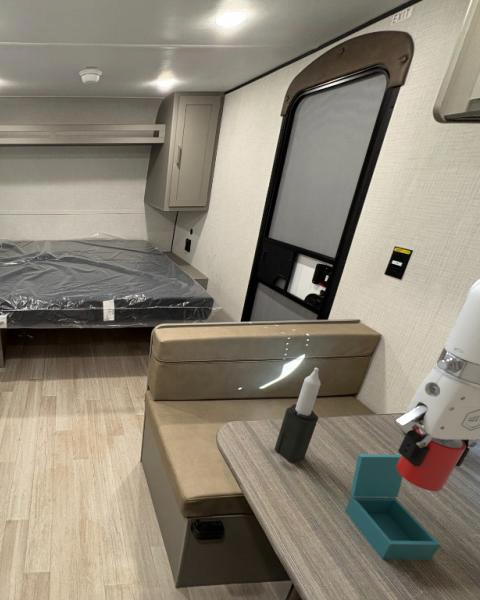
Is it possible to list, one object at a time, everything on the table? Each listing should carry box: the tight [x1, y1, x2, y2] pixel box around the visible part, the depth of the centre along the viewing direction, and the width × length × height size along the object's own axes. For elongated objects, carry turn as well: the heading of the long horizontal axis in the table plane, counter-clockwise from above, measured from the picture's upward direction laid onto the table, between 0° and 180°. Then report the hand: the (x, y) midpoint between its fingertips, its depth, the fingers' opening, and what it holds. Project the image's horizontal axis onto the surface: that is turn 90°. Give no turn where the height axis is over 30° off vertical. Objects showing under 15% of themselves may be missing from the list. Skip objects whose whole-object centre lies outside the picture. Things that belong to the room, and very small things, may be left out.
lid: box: [350, 453, 403, 498], centre depth 61 cm, size 9×9×1 cm
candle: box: [274, 367, 321, 465], centre depth 73 cm, size 5×5×25 cm
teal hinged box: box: [344, 496, 441, 560], centre depth 59 cm, size 9×9×5 cm
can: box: [396, 428, 466, 492], centre depth 53 cm, size 6×6×9 cm
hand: (428, 458), depth 53 cm, fingers closed on can, 5 cm apart
